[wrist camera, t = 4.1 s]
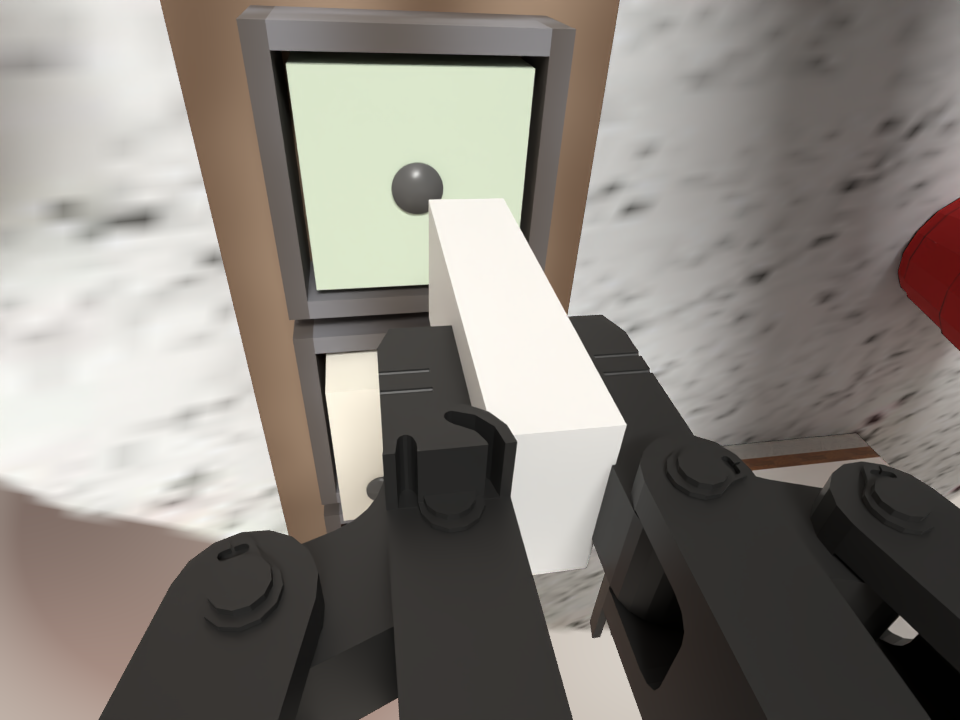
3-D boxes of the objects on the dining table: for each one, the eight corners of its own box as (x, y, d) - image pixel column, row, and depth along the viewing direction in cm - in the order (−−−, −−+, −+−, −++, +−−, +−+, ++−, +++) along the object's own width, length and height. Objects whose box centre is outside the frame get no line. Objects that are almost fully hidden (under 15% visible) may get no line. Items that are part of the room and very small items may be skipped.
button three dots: (506, 340, 20) (521, 378, 18) (494, 461, 23) (506, 502, 22) (326, 353, 19) (325, 395, 17) (343, 478, 22) (343, 523, 21)
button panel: (584, -17, 18) (662, 3, 14) (514, 509, 34) (540, 596, 30) (179, -36, 16) (121, -19, 12) (303, 536, 32) (298, 634, 27)
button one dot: (515, 54, 16) (536, 69, 14) (500, 251, 20) (515, 281, 18) (291, 49, 15) (285, 65, 13) (318, 259, 18) (317, 292, 17)
